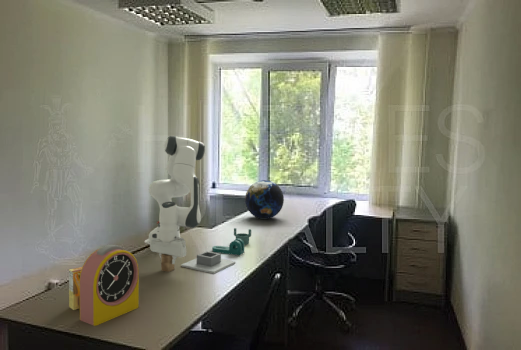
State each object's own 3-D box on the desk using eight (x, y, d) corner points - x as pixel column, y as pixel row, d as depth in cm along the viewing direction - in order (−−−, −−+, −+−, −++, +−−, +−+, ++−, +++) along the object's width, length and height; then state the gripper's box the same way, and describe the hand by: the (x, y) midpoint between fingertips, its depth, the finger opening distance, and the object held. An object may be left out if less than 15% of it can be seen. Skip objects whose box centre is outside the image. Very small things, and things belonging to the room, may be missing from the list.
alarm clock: (95, 326, 164) (94, 253, 161) (78, 319, 169) (78, 249, 166) (139, 307, 182) (139, 241, 179) (123, 301, 187) (123, 238, 184)
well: (181, 266, 234) (181, 255, 233) (203, 257, 252) (204, 247, 251) (214, 273, 225) (214, 262, 224) (235, 263, 242) (235, 253, 242)
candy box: (90, 301, 186) (90, 264, 184) (95, 304, 183) (95, 267, 181) (68, 307, 179) (68, 269, 178) (73, 310, 176) (73, 271, 175)
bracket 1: (244, 252, 264) (244, 239, 263) (240, 255, 257) (240, 241, 257) (215, 249, 269) (215, 235, 268) (210, 252, 263) (210, 238, 262)
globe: (259, 213, 379) (260, 176, 375) (290, 218, 361) (291, 180, 358) (236, 218, 355) (237, 179, 351) (268, 224, 337) (270, 184, 334)
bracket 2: (252, 244, 282) (252, 229, 282) (238, 245, 278) (239, 230, 277) (244, 240, 290) (245, 226, 289) (231, 242, 285) (232, 227, 285)
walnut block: (161, 270, 227) (161, 254, 226) (167, 268, 231) (167, 252, 230) (168, 272, 225) (168, 256, 224) (174, 269, 229) (174, 253, 228)
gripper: (189, 237, 224) (188, 264, 226) (156, 231, 233) (156, 257, 235) (181, 239, 218) (180, 268, 220) (148, 233, 228) (147, 260, 230)
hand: (167, 262), depth 228 cm, fingers open, 5 cm apart
